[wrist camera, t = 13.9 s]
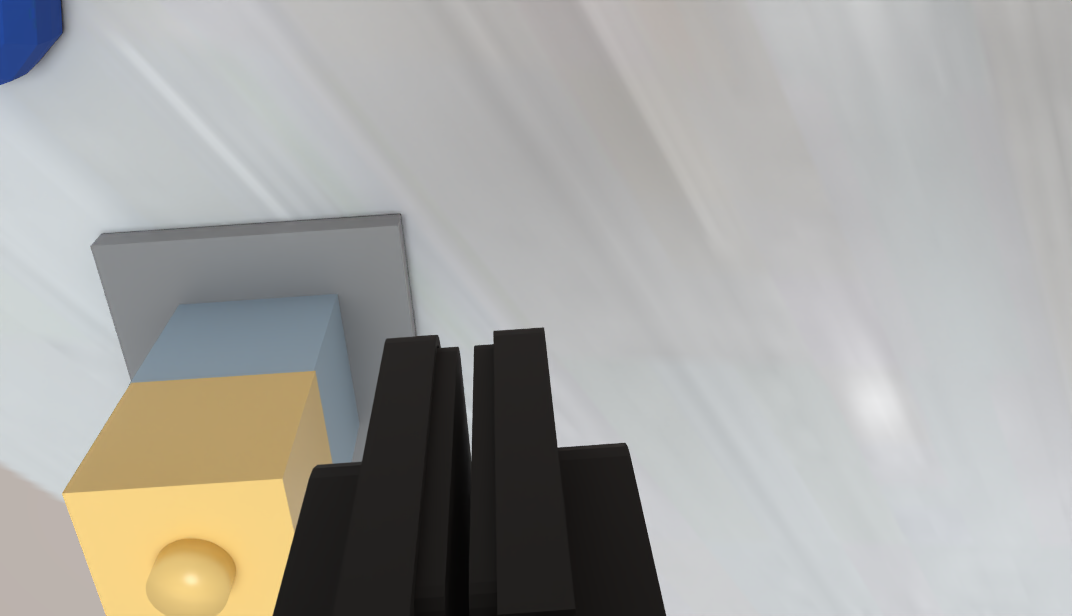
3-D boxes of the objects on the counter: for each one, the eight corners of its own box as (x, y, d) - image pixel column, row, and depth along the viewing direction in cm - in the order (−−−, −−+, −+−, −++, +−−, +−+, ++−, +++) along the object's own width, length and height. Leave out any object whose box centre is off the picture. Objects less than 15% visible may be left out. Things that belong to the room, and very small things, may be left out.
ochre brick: (315, 371, 33) (275, 501, 27) (342, 513, 36) (311, 660, 30) (131, 382, 33) (47, 516, 26) (172, 524, 36) (107, 674, 29)
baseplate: (400, 214, 38) (395, 235, 36) (431, 454, 43) (429, 484, 42) (101, 233, 38) (80, 256, 36) (171, 472, 43) (156, 503, 41)
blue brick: (337, 293, 38) (308, 387, 32) (359, 423, 41) (337, 532, 35) (179, 304, 38) (119, 400, 32) (212, 433, 41) (164, 544, 35)
